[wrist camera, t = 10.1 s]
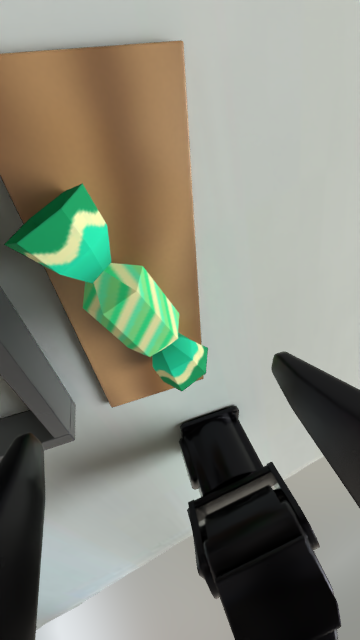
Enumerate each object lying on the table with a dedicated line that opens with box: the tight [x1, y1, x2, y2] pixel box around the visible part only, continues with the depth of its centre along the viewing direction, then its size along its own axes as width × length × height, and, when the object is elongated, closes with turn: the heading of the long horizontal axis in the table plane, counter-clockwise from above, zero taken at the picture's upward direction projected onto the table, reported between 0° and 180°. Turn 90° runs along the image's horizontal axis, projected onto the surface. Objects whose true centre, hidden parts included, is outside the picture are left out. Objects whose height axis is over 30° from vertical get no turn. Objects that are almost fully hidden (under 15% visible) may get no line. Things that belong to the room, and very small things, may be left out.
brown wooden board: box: [0, 41, 203, 407], centre depth 15 cm, size 8×20×1 cm, turn 6°
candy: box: [4, 183, 208, 391], centre depth 14 cm, size 12×3×4 cm
